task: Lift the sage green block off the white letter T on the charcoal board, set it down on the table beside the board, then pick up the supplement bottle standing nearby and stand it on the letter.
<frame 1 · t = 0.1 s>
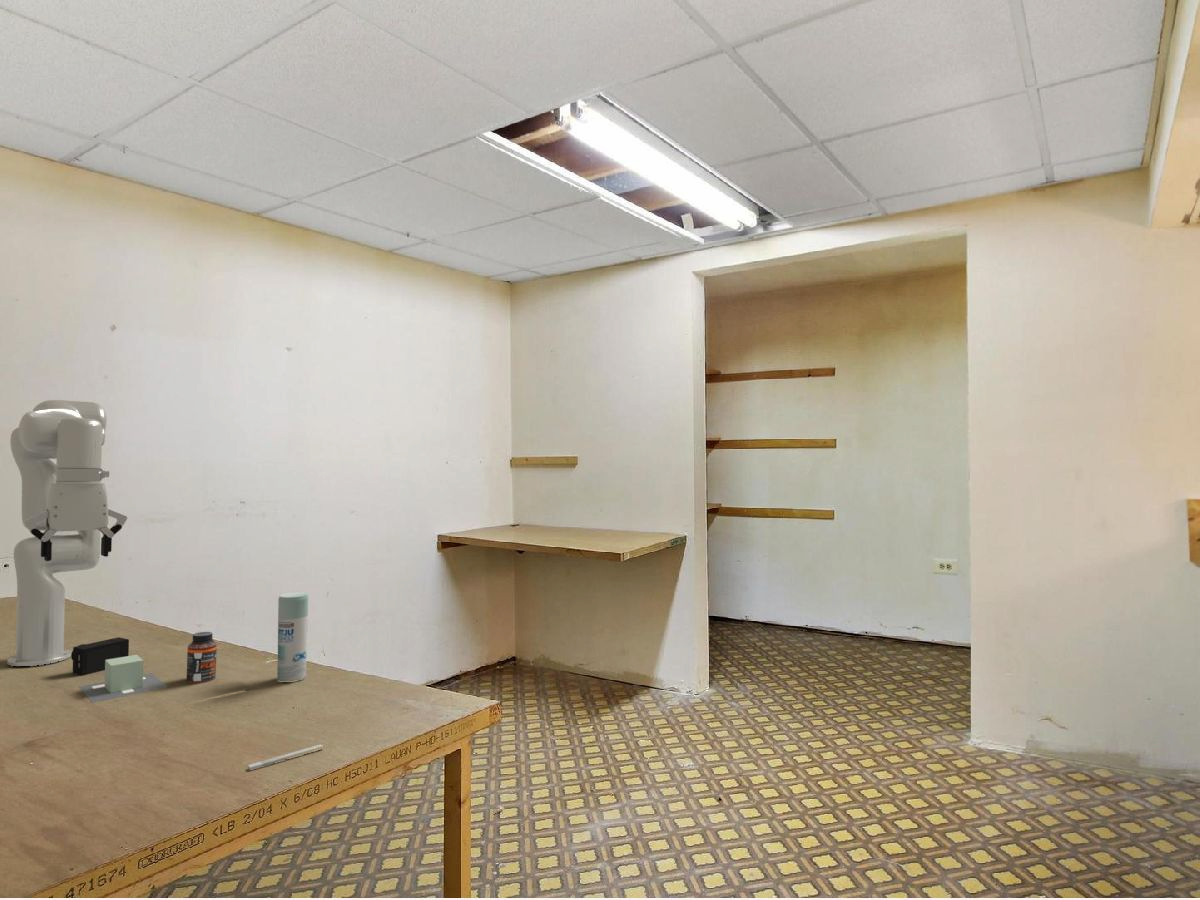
hand: (76, 558, 143), 31 cm above the table, tool pointing down, fingers open, 9 cm apart
digital camera: (99, 671, 166), on the table
spray paint can: (291, 679, 162), on the table
light grey rod: (286, 762, 120), on the table
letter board: (123, 689, 153), on the table
supplement bottle: (201, 682, 159), on the table
sage block: (123, 686, 153), point 1 cm above the table, touching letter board
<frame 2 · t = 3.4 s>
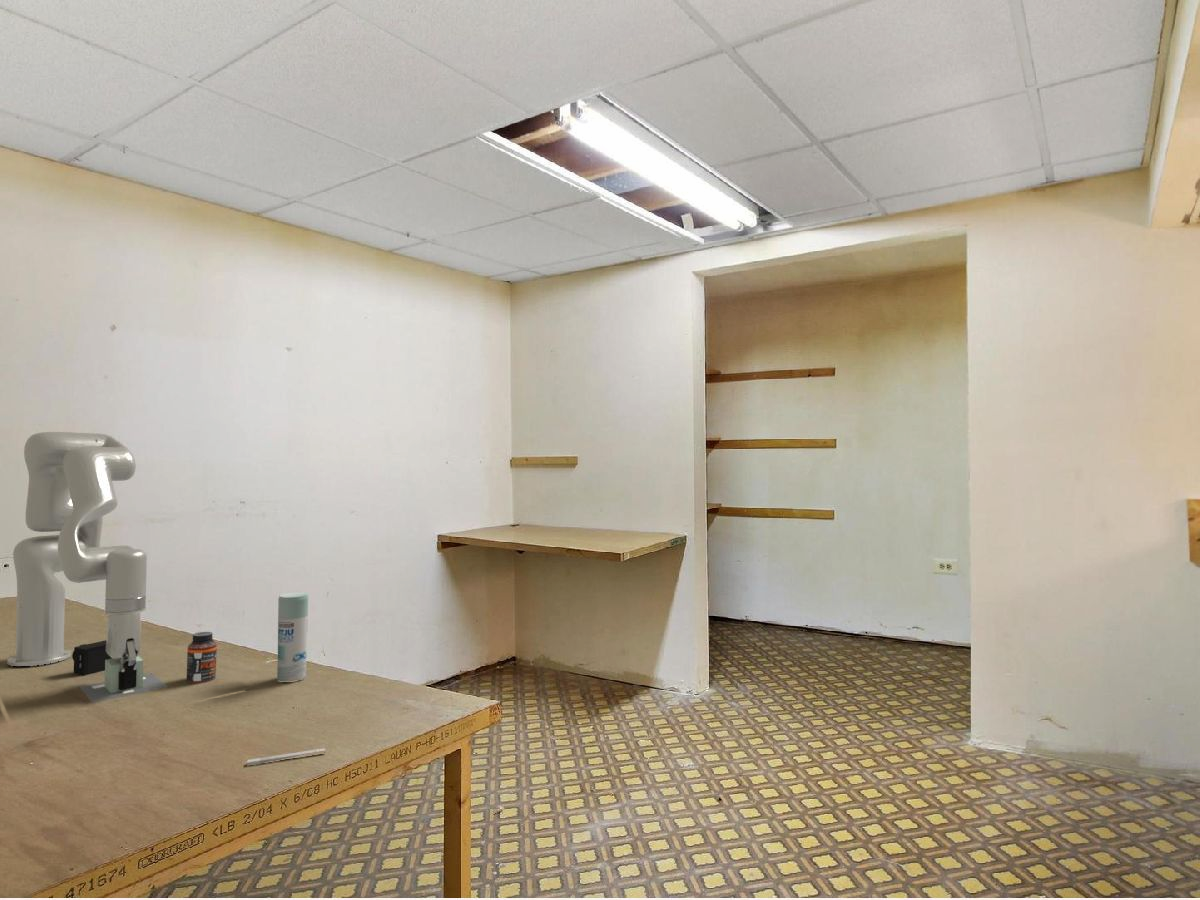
hand: (123, 684, 153), 1 cm above the table, tool pointing down, fingers closed on sage block, 6 cm apart
sage block: (123, 686, 153), point 1 cm above the table, touching gripper, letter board
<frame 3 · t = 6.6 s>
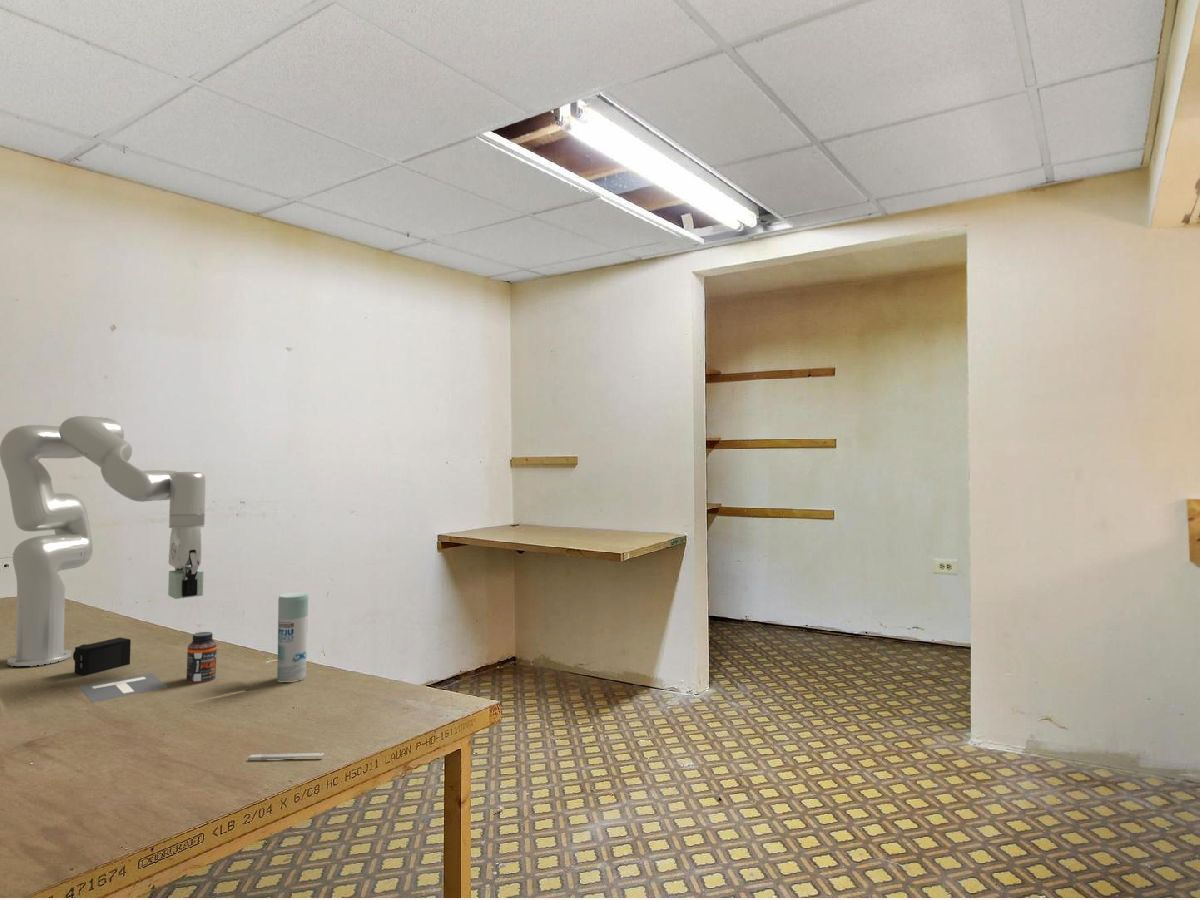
hand: (185, 593, 169), 19 cm above the table, tool pointing down, fingers closed on sage block, 6 cm apart
sage block: (185, 595, 169), point 18 cm above the table, touching gripper
when the fingers open (2 cm above the table, at t = 10.0 s): sage block drops 1 cm, on the table.
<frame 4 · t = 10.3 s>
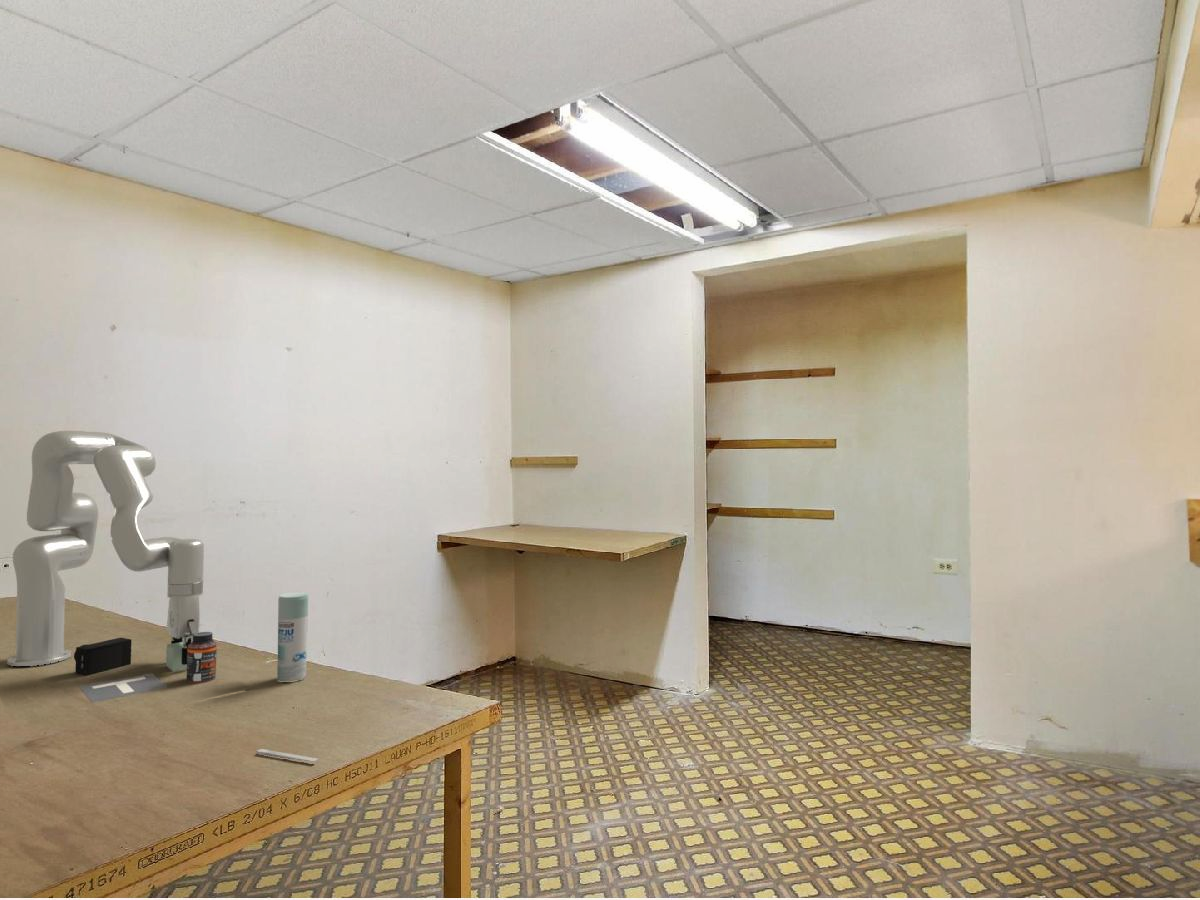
hand: (183, 659, 169), 2 cm above the table, tool pointing down, fingers open, 8 cm apart
sage block: (183, 668, 169), on the table
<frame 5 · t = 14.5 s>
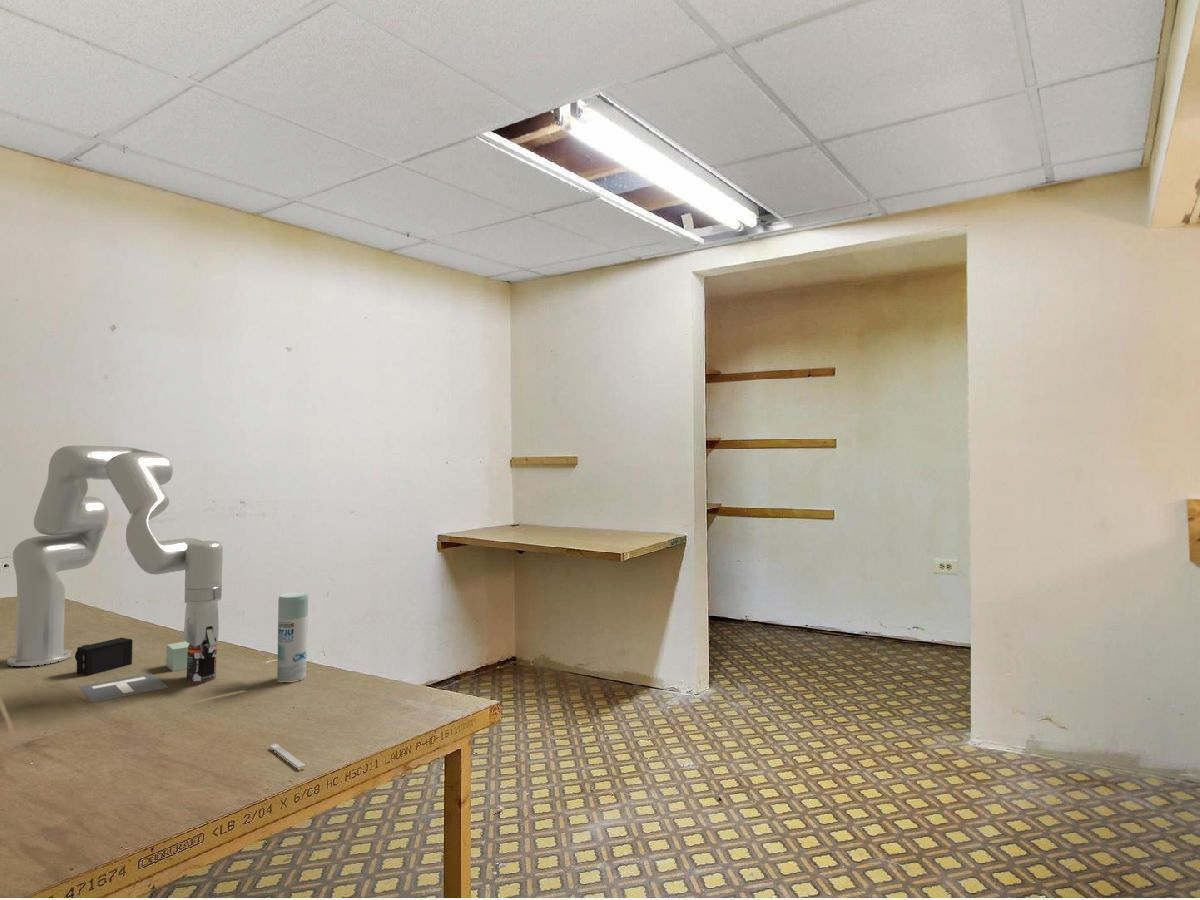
hand: (201, 670, 159), 3 cm above the table, tool pointing down, fingers closed on supplement bottle, 6 cm apart
supplement bottle: (201, 682, 159), on the table, touching gripper
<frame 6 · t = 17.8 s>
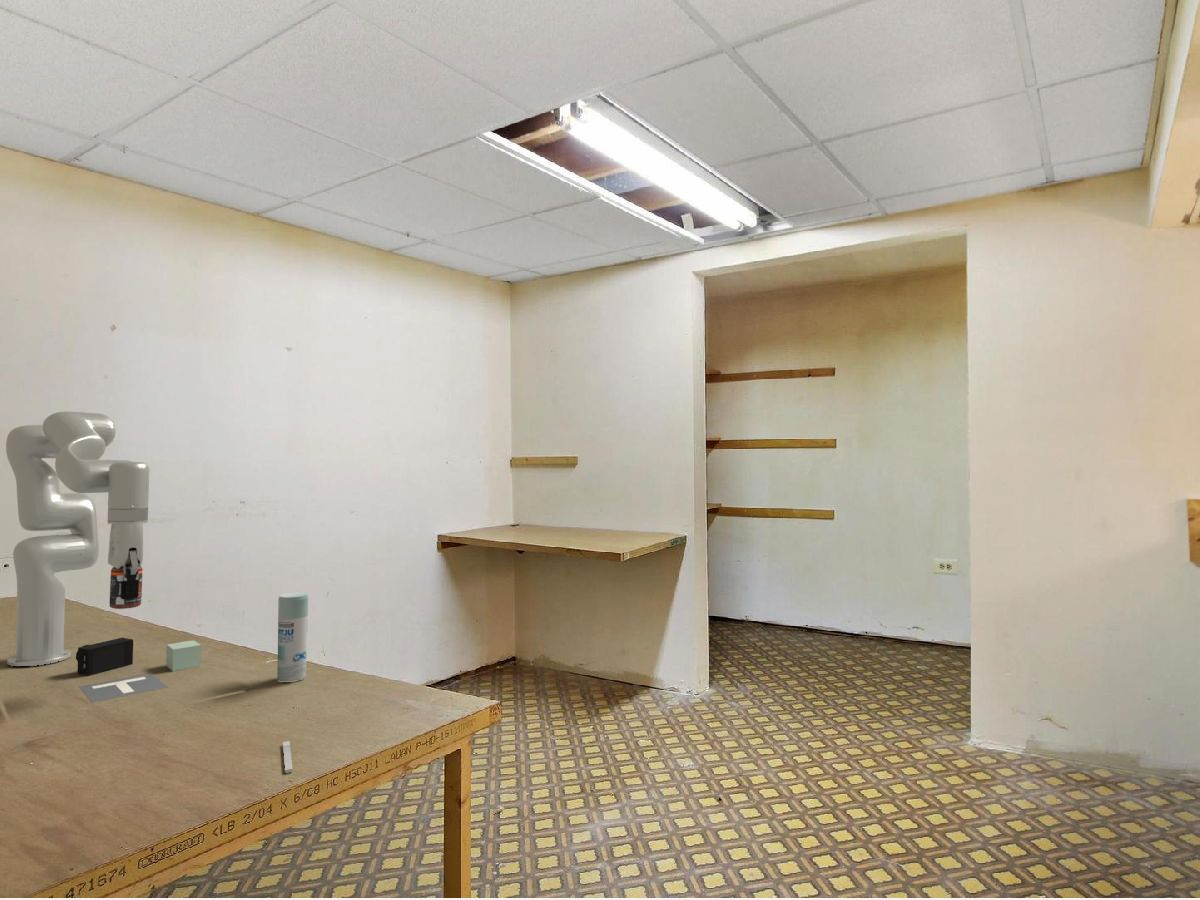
hand: (125, 595, 154), 21 cm above the table, tool pointing down, fingers closed on supplement bottle, 6 cm apart
supplement bottle: (125, 607, 153), point 18 cm above the table, touching gripper
when the fingers open (4 cm above the table, at t = 21.4 s): supplement bottle stays where it is, resting on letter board.
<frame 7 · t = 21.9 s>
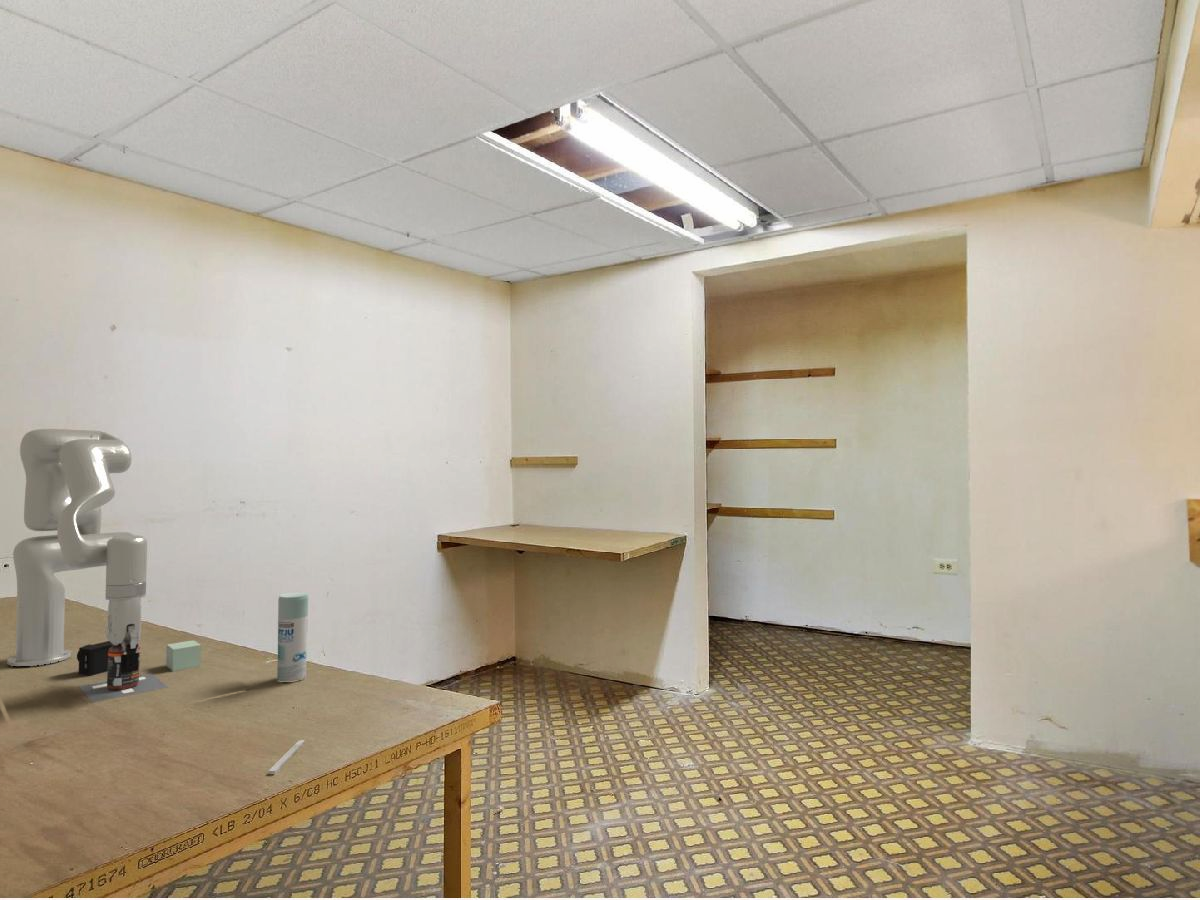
hand: (124, 666, 153), 5 cm above the table, tool pointing down, fingers open, 9 cm apart
supplement bottle: (123, 687, 153), resting on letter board
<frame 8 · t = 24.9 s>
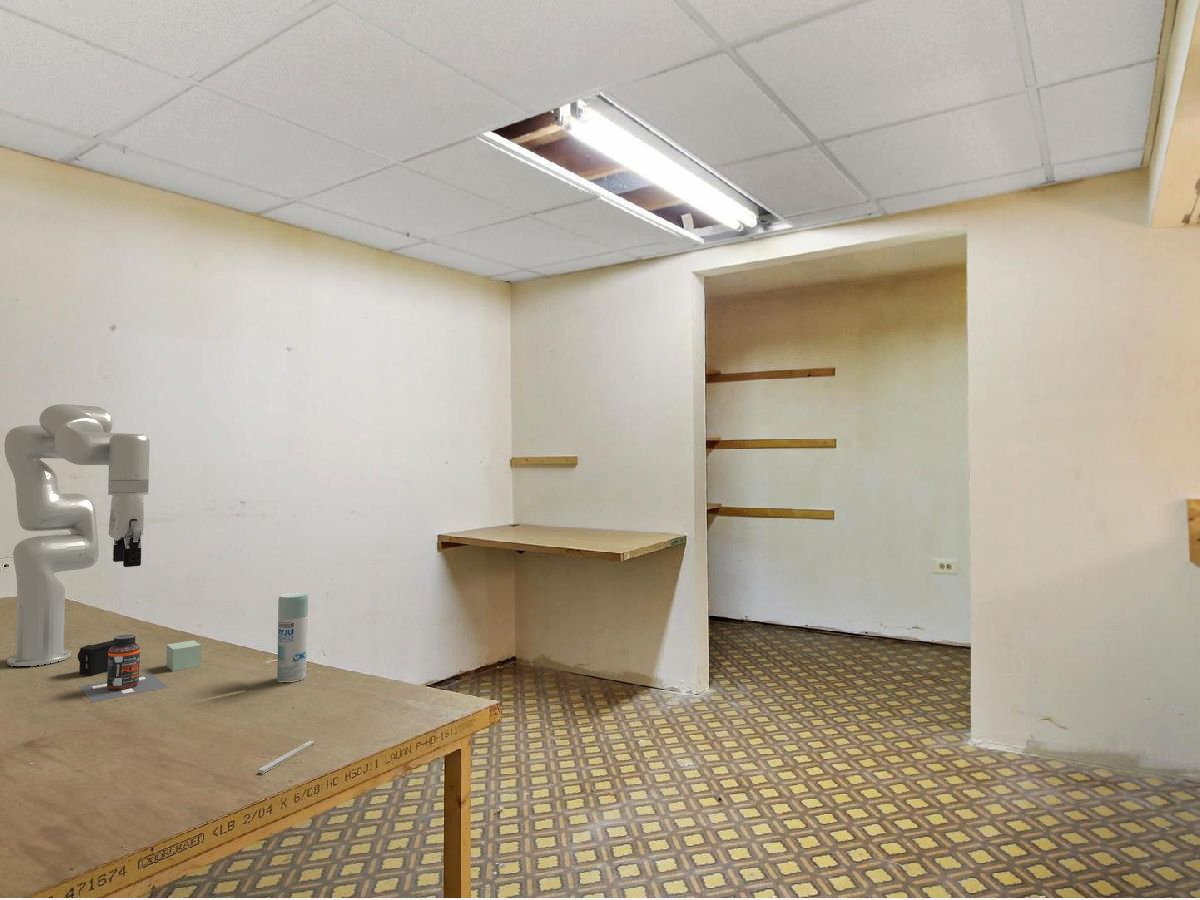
hand: (126, 563, 154), 28 cm above the table, tool pointing down, fingers open, 9 cm apart
at the end: supplement bottle 0.3 cm from the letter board (horizontally); supplement bottle tilted 0°; sage block inside the target area (0.1 cm from its centre), on the table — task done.
